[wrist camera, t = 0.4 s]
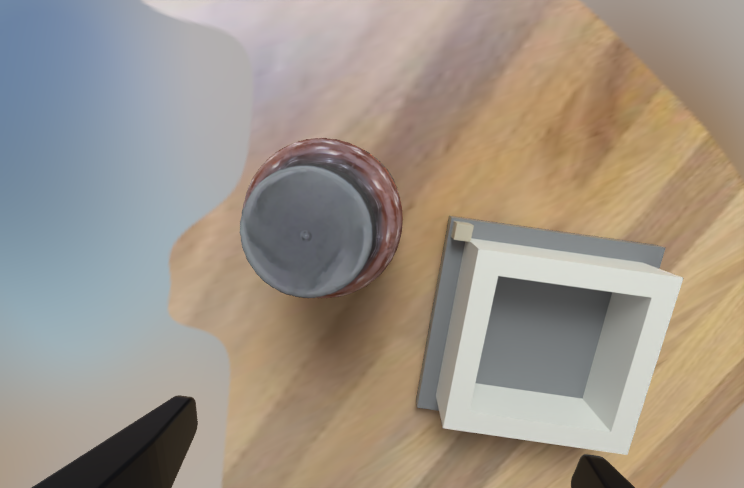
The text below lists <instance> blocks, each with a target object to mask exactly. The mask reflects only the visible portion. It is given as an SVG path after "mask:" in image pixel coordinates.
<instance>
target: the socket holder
mask: <svg viewBox="0 0 744 488" xmlns="http://www.w3.org/2000/svg"><path fill="white" fill-rule="evenodd" d="M664 251H665V248H664V247H661V246H658V245H653V244H646V243H639V242H631V241H624V240H617V239H610V238H603V237H596V236H589V235H582V234H575V233H568V232H561V231H553V230H546V229H539V228H532V227H525V226H518V225H511V224H504V223H497V222H490V221H483V220H475V219H468V218H461V217H454V216H449V220H448V225H447V231H446V236H445V242H444V248H443V253H442V259H441V264H440V270H439V275H438V281H437V286H436V292H435V298H434V303H433V309H432V314H431V320H430V325H429V331H428V337H427V342H426V348H425V353H424V359H423V364H422V370H421V375H420V381H419V387H418V392H417V398H416V403H417V408H424V409H431V410H438V411H439V412H440V417H441V421H442V426H443V428H445V429H452V430H459V431H466V432H473V433H480V434H487V435H493V436H500V437H507V438H514V439H521V440H528V441H535V442H542V443H549V444H556V445H563V446H570V447H576V448H583V449H590V450H597V451H604V452H611V453H618V454H625V455H627V454H628V451H629V448H630V445H631V442H632V439H633V435H634V432H635V429H636V426H637V423H638V420H639V416H640V413H641V410H642V407H643V404H644V401H645V397H646V394H647V391H648V388H649V385H650V382H651V378H652V375H653V372H654V369H655V366H656V363H657V360H658V356H659V353H660V350H661V347H662V344H663V341H664V337H665V334H666V331H667V328H668V325H669V322H670V318H671V315H672V312H673V309H674V306H675V303H676V299H677V296H678V293H679V290H680V287H681V284H682V281H683V278H682V277H680V276H677V275H674V274H672V273H669V272H666V271H664V270H661V269H659V268H660V264H661V261H662V258H663V254H664Z"/></svg>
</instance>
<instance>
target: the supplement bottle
mask: <svg viewBox="0 0 744 488" xmlns="http://www.w3.org/2000/svg"><path fill="white" fill-rule="evenodd" d="M402 220H403V218H402V206H401V201H400V197H399V193H398V190H397V187H396V185H395V182H394V179H393V178H392V176H391V174H390V173H389V171H388V170H387V169H386V168H385V166H384V165H383V164H382V163H381V162H380V161H379V160H378V159H376V158H375V157H373V156H372V155H371V154H370V153H369V152H367V151H365V150H363V149H361V148H359V147H357V146H355V145H352V144H350V143H347V142H344V141H340V140H336V139H327V138H319V139H318V138H315V139H306V140H303V141H298V142H296V143H293V144H291V145H289V146H286V147H284V148H283V149H281V150H279V151H277V152H276V153H275V154H274V155H273V156H271V157H270V158H269V159H267V161H266V162H265V163H264V164H263V165H262V166H261V167H260V168H259V170H258V171H257V173H256V174H255V176H254V177H253V179H252V181H251V183H250V185H249V187H248V190H247V193H246V197H245V201H244V204H243V210H242V217H241V221H240V235H241V242H242V248H243V250H244V252H245V255H246V258H247V260H248V262H249V263H250V265H251V266H252V268H253V269H254V270H255V272H256V273H257V275H258V276H260V278H261V279H262V280H263V281H264V282H265V283H267V284H269V285H270V286H271V287H273V288H275V289H277V290H278V291H280V292H282V293H284V294H287V295H292V296H296V297H302V298H332V297H339V296H343V295H347V294H350V293H353V292H355V291H358V290H359V289H361V288H363V287H365V286H367V285H368V284H369V283H371V282H372V281H373V280H375V279H376V278H377V277H378V276H379V275H380V274H381V273H382V272H383V271H384V270H385V268H386V267H387V266H388V264H389V263H390V262H391V260H392V258H393V256H394V254H395V252H396V250H397V247H398V244H399V241H400V237H401V232H402Z"/></svg>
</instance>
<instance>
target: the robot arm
mask: <svg viewBox="0 0 744 488" xmlns="http://www.w3.org/2000/svg"><path fill="white" fill-rule="evenodd" d="M197 425H198V421H197V412H196V402H195V400H194V398H192V397H187V396H175V397H173V398H171V399H170V400H168V401H167V402H165V403H163V404H162V405H160V406H159V407H157V408H156V409H154V410H152V411H151V412H149V413H148V414H146V415H145V416H143V417H142V418H140V419H138V420H137V421H135V422H134V423H132V424H131V425H129V426H128V427H126V428H124V429H123V430H121V431H120V432H118V433H116V434H115V435H113V436H112V437H110V438H109V439H107V440H105V441H104V442H102V443H101V444H99V445H98V446H96V447H94V448H93V449H91V450H90V451H88V452H87V453H85V454H84V455H82V456H80V457H79V458H77V459H76V460H74V461H73V462H71V463H69V464H68V465H66V466H65V467H63V468H62V469H60V470H58V471H57V472H56V473H54V474H52V475H51V476H49V477H47V478H46V479H44V480H43V481H41V482H40V483H38V484H37V485H35V486H33V487H32V488H171V487H172V485H173V483H174V481H175V478H176V476H177V474H178V472H179V469H180V467H181V465H182V462H183V460H184V458H185V456H186V453H187V451H188V449H189V447H190V445H191V442H192V440H193V438H194V435H195V433H196V430H197ZM571 488H635V487H634V486H633V485H632V484H631V483H630V482H629V481H628V480H627V479H626V478H624V477H623V476H622V475H621V474H620V473H619V472H618V471H617V470H616V469H615V468H614V467H613V466H612V465H611V464H610V463H609V462H608V461H607V460H606V459H604V458H603V457H600V456H594V455H587V454H585V455H583V456H581V458H580V460H579V462H578V465H577V467H576V469H575V472H574V474H573V476H572V480H571Z"/></svg>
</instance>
